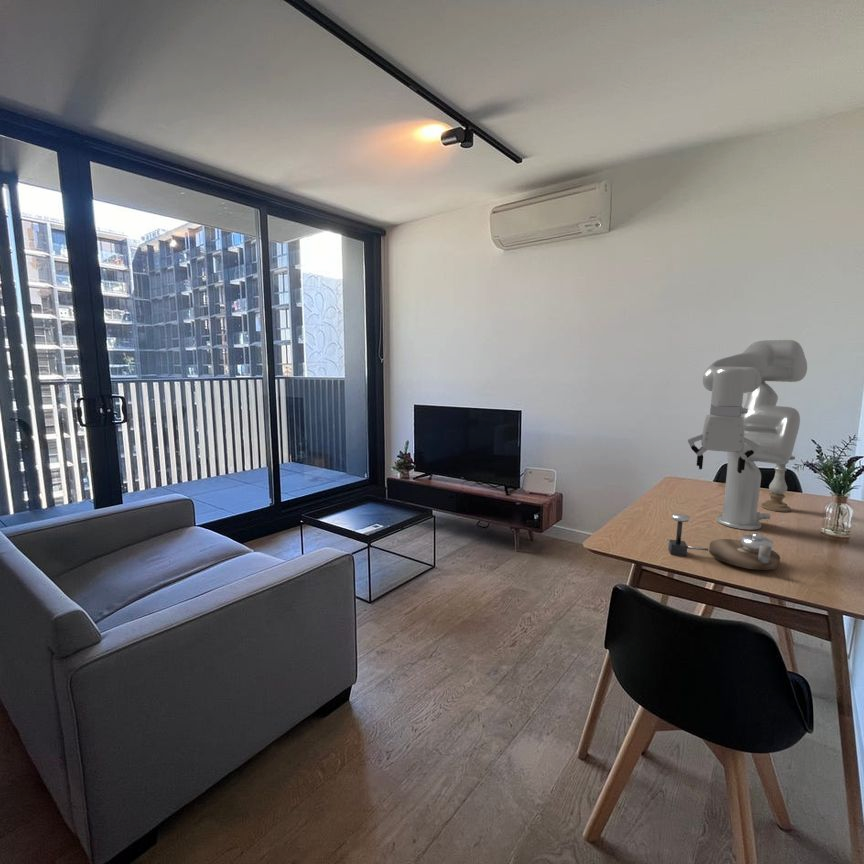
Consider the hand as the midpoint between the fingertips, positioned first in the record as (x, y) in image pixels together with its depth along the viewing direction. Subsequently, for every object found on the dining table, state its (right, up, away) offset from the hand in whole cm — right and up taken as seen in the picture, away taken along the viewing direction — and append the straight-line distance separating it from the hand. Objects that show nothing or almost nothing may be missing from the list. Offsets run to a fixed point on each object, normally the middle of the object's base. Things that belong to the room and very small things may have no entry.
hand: (719, 470), depth 134 cm
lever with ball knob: (-11, -24, -3) cm, 26 cm away
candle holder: (+45, -18, +39) cm, 62 cm away
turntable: (+2, -23, -7) cm, 24 cm away
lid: (+6, -21, -7) cm, 23 cm away
